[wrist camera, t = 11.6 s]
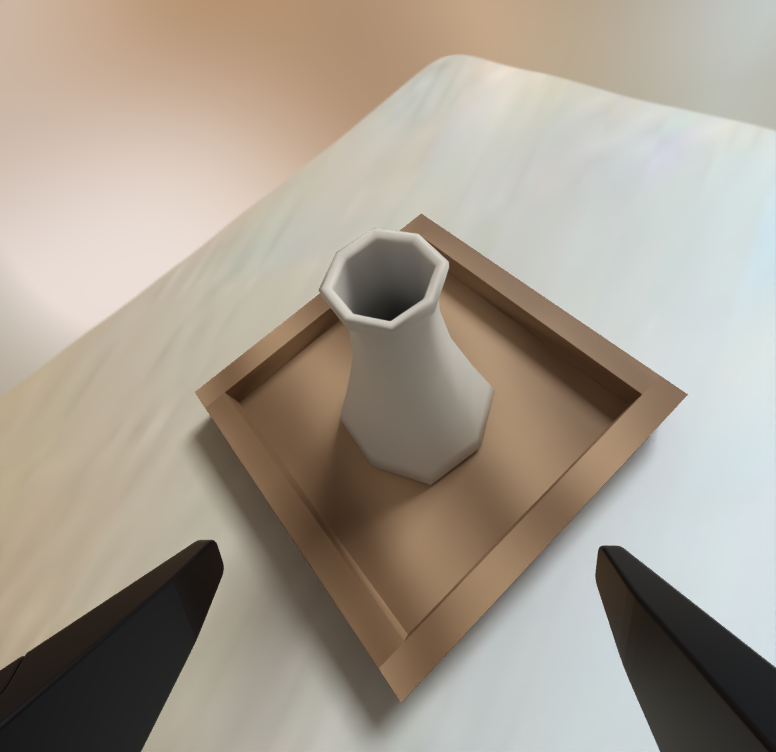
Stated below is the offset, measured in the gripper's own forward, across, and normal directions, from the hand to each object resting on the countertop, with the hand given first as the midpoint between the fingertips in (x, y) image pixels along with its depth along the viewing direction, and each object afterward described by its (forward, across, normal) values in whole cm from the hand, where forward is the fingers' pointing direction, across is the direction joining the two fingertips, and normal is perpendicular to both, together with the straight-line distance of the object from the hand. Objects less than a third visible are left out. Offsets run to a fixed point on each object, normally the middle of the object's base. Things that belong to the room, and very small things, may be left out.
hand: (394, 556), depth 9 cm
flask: (+10, 0, +1) cm, 10 cm away
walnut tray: (+11, 0, +1) cm, 11 cm away
